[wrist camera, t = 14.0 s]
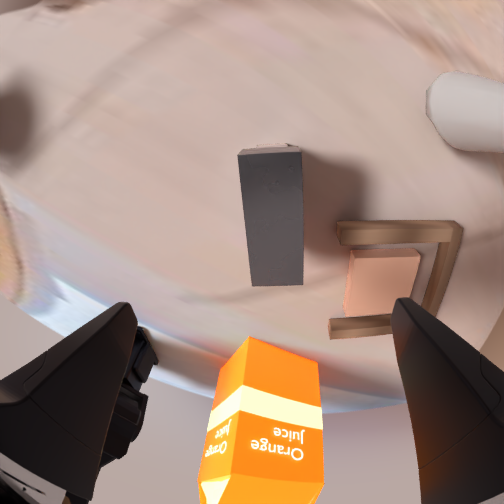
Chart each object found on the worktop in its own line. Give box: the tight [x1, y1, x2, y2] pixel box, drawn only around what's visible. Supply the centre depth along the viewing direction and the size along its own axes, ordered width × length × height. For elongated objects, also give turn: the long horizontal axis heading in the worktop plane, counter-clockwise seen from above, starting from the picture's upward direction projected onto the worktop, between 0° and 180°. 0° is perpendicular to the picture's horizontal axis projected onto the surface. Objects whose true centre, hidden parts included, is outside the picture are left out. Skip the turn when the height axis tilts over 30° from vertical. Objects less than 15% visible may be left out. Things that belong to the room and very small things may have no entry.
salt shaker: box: [426, 71, 504, 153], centre depth 8 cm, size 6×6×13 cm
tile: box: [343, 248, 421, 317], centre depth 22 cm, size 6×6×2 cm
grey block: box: [238, 143, 304, 286], centre depth 17 cm, size 3×8×6 cm, turn 5°
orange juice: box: [198, 337, 324, 504], centre depth 21 cm, size 8×9×20 cm
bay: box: [328, 220, 463, 340], centre depth 21 cm, size 11×11×2 cm
